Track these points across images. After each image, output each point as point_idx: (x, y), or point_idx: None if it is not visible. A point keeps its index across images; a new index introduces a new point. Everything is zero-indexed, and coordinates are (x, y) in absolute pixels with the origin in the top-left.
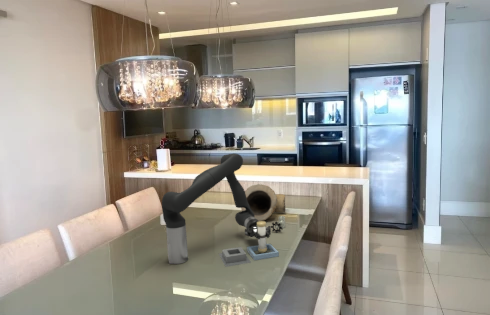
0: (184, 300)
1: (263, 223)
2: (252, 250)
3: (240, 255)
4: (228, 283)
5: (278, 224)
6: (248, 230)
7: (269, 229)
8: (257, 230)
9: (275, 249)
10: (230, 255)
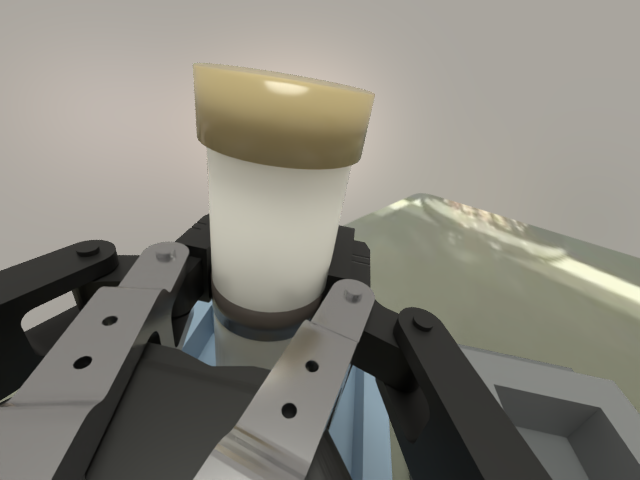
0: (632, 273)
1: (285, 74)
2: (363, 433)
3: (491, 359)
4: (509, 278)
5: None
6: (488, 451)
7: (91, 244)
8: (255, 373)
9: None
10: (584, 387)
